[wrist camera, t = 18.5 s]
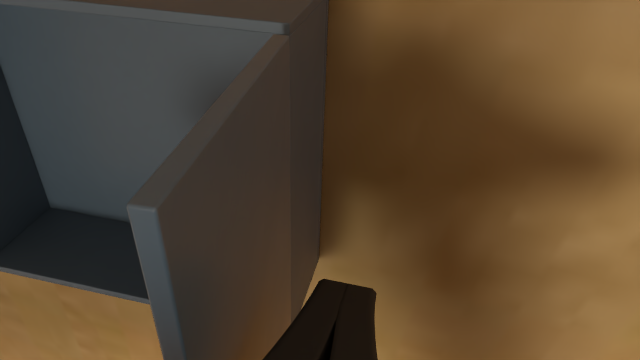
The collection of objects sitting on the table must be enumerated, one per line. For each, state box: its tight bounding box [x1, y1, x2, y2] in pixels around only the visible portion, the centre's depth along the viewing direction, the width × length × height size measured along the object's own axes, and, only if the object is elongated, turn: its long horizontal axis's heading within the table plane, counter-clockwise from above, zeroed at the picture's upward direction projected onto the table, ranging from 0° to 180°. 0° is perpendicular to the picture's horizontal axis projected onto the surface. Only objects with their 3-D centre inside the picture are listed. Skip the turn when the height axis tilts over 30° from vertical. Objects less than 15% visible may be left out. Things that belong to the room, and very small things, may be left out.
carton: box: [0, 0, 329, 323], centre depth 18 cm, size 14×12×4 cm
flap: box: [127, 34, 291, 360], centre depth 12 cm, size 7×12×1 cm
